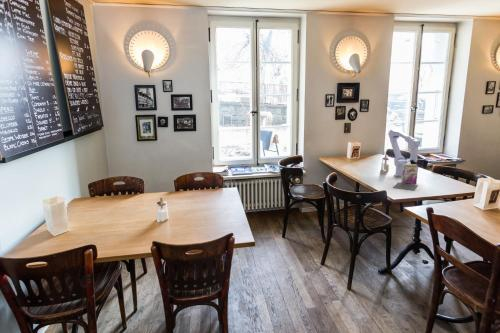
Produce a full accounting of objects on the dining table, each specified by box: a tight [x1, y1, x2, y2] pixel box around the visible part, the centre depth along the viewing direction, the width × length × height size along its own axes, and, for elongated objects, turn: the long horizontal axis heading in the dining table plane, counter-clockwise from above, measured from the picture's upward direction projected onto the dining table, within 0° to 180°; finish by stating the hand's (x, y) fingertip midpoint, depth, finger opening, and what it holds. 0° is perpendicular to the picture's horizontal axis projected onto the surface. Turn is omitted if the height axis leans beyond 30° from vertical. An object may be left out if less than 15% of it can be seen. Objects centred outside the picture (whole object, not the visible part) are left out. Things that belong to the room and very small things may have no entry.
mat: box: [392, 182, 419, 192], centre depth 267 cm, size 16×16×1 cm
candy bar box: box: [400, 163, 419, 184], centre depth 275 cm, size 11×5×16 cm, turn 83°
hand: (412, 168), depth 284 cm, fingers closed
